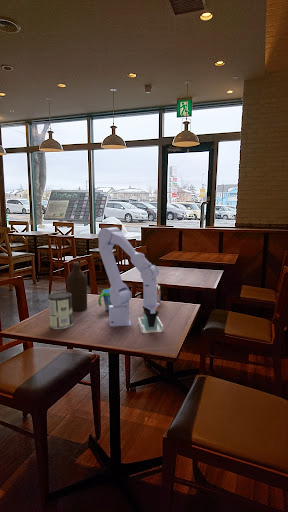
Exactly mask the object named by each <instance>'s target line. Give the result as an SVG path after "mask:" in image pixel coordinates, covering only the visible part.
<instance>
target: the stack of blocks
mask: <svg viewBox="0 0 288 512" xmlns="http://www.w3.org/2000/svg"><path fill="white" fill-rule="evenodd" d="M157 303H159V304H161V285H159V284H158V283H157ZM158 309H159V306H157V307H156V309H155V311H158ZM143 314H145V311H144V310H143Z"/></svg>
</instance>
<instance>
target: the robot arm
mask: <svg viewBox="0 0 288 512" xmlns="http://www.w3.org/2000/svg"><path fill="white" fill-rule="evenodd" d="M97 233H98V234H97V239H98V251H99V255H100V256H101V257H100V258H101V260H102V264H103V265H104V269H105V272H106V275H107V277H108V281H109V285H110V287H109V288H110V290H109V294H110V302H111V304H112V305H109V311H108V318H107V319H108V323H109V327H121V326H123V327H124V326H131V325H132V323H131V320H130V301H131V299H132V296H133V295H132V291H131V290H130V289H129V287H128V285H127V284H126V283H124V282H123V280H122V276H121V273H120V270H119V268H118V265H117V262H116V258H115V256H114V253H113V247H114V246H115V245H118V246H119V247H120V248H121V249H122V250H123V251H124V252H125V253H126V254H127V256H129V257H130V263H132V265H133V266H134V267H135V268H136V269H137V270H138V272H139V273H140V278H141V279H142V286H143V287H142V288H143V289H142V291H143V297H142V298H143V299H142V300H143V303H142V309H143V312H144V311H145V313H144V315H146V316H147V319H148V325H149V327H154V325H155V320H156V317H158V315H159V311H158V310H157V311H155V309H156V307H157V306H158V307H159V306H160V304H161V303H160V304H159V303H157V284H158V282H157V277H158V276H159V274H160V273H159V272H160V271H159V268H158V266H157V265H155V264H152V262H149V260H148V259H147V257H145V256H146V255H145V254H144V253H142V252H138V251H136V249H135V248H134V246H132V244H131V243H130V241H129V240H128V239H127V238H126V236H125V234H124V232H123V231H122V230H121V229H120V228H119V227H117V226H112V227H102V228H101V229H100V230H99V232H97Z"/></svg>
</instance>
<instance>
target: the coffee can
mask: <svg viewBox="0 0 288 512" xmlns="http://www.w3.org/2000/svg"><path fill="white" fill-rule="evenodd" d="M47 299H48V312H49V327H50V328H51V329H54V330H64V329H69V328H71V327H72V326H73V325H74V320H73V319H74V317H73V311H72V294H71V293H68V291H67V292H64V291H63V292H62V291H61V292H53V293H51V294H49V295H48V296H47Z"/></svg>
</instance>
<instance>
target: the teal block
mask: <svg viewBox="0 0 288 512" xmlns="http://www.w3.org/2000/svg"><path fill="white" fill-rule="evenodd" d="M143 317H144V327H145V330H154V329H157V317H158V316H157V317H156V320H155V325H154V327H149V325H148V319H147V316H146V315H145V314H143Z"/></svg>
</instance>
